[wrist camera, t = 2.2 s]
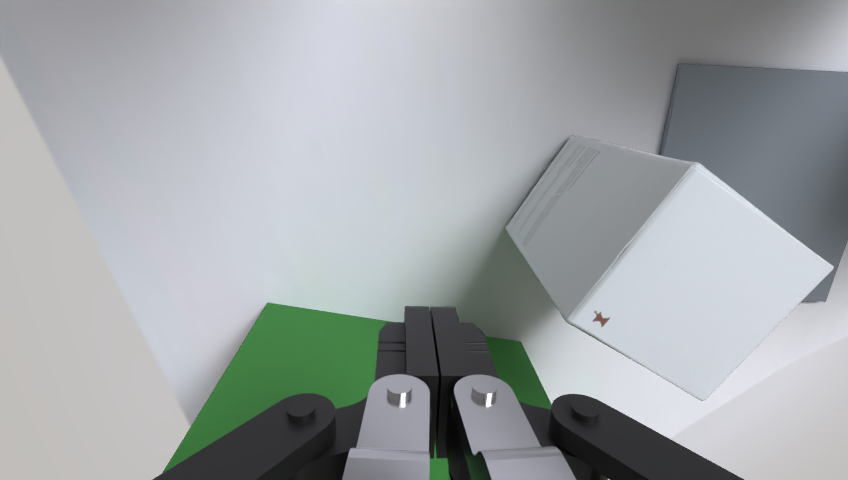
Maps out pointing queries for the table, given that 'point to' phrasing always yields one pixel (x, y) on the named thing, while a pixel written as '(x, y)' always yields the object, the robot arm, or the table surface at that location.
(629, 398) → the table surface
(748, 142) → the mat
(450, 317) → the robot arm
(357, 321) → the hardback book
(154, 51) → the table surface
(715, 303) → the supplement box
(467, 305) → the table surface
